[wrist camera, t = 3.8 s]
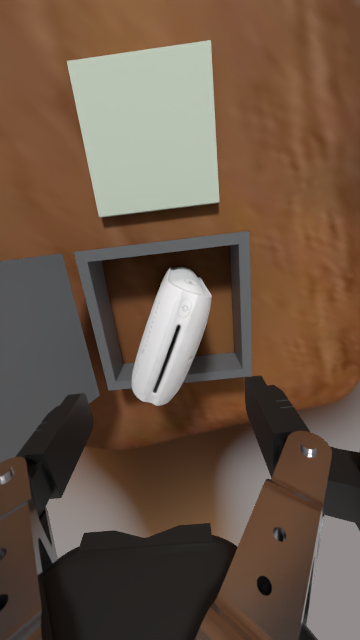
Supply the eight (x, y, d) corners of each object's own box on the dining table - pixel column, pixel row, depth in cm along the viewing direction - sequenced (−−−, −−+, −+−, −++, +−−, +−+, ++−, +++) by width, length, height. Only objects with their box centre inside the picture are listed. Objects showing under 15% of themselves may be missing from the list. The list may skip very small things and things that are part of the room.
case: (117, 371, 30) (108, 390, 26) (89, 250, 25) (73, 252, 22) (242, 358, 30) (252, 376, 26) (238, 232, 25) (249, 231, 21)
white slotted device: (168, 259, 26) (160, 277, 14) (205, 272, 26) (226, 299, 15) (142, 341, 29) (117, 411, 17) (175, 351, 29) (173, 426, 18)
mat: (101, 217, 24) (99, 217, 24) (70, 67, 20) (66, 61, 20) (218, 203, 24) (219, 202, 23) (209, 47, 20) (210, 40, 19)
